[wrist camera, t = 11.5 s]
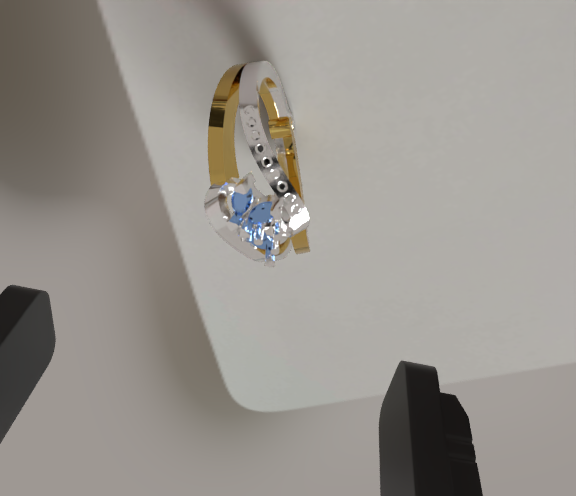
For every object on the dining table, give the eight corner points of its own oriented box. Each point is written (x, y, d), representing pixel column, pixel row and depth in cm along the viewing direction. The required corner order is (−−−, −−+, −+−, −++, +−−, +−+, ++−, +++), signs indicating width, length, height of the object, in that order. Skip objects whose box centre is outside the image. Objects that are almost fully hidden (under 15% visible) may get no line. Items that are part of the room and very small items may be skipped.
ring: (332, 188, 24) (322, 309, 18) (263, 195, 25) (229, 315, 19) (307, 27, 20) (283, 110, 14) (226, 40, 21) (167, 126, 15)
